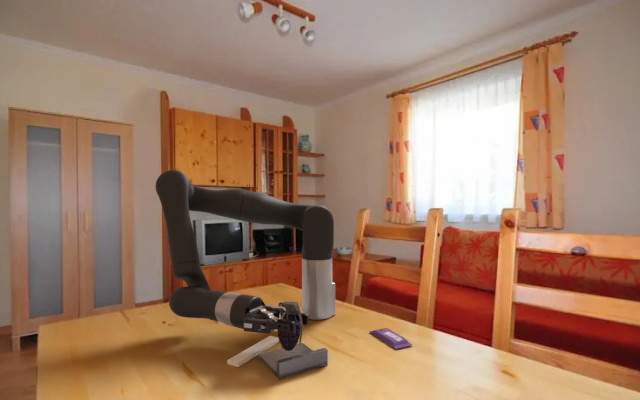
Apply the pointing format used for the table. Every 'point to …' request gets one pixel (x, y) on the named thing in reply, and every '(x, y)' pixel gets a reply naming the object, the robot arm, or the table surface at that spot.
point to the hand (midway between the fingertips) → (301, 323)
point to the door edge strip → (252, 351)
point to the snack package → (391, 338)
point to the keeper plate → (294, 360)
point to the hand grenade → (291, 339)
